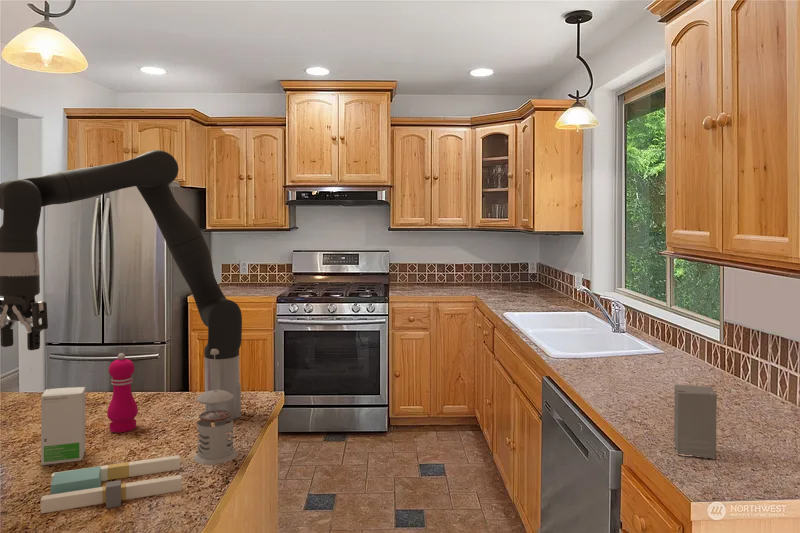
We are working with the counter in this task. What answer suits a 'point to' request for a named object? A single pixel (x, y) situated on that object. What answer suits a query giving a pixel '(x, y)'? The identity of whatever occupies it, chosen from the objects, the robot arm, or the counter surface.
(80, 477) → the block
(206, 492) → the counter surface
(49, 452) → the skincare box
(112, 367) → the pepper mill
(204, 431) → the french press
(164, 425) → the counter surface
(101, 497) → the track
